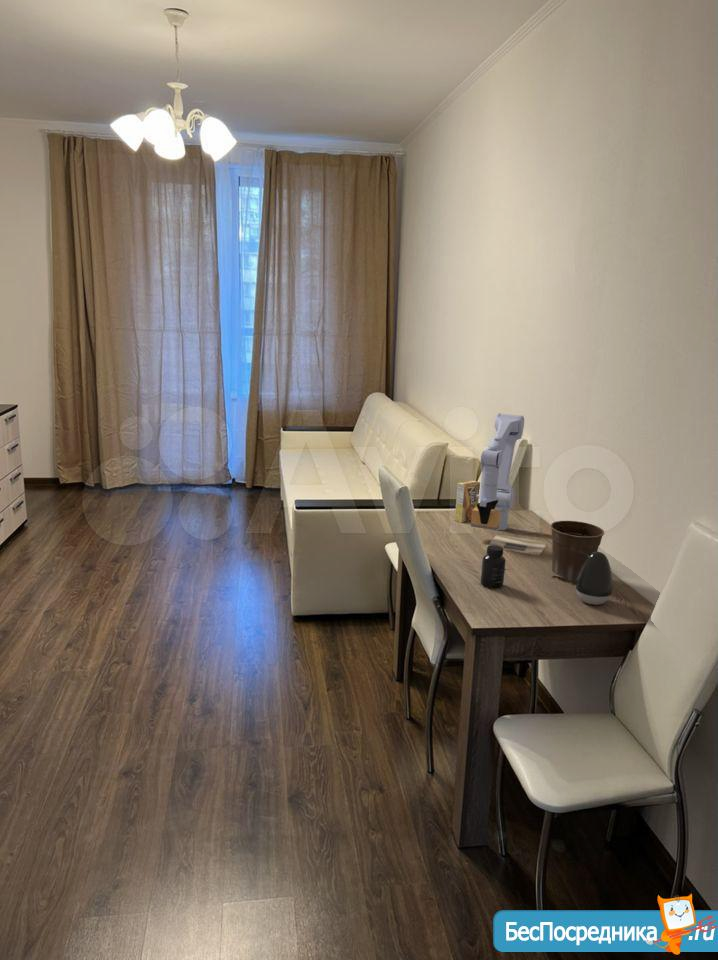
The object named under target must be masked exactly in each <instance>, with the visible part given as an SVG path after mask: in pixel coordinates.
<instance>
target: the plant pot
mask: <svg viewBox="0 0 718 960" xmlns="http://www.w3.org/2000/svg"><path fill="white" fill-rule="evenodd" d="M550 528H551V539H552V543H551V545H552V551H551V553H552V554H551V555H552V556H551V560H552V561H551V571H552V572H553V574H555V575H553V577H554V578H557V579H558V580H559V581H562V582H566V583H570V582H571V583H570V584H572V583H573V584H576V581H577V577H578V574H579V571H580V569H581V567H582V565H583V563H584V561H585V560H586V559H585V558H584V557H582V556H581V555H580V554H579V552H580V551H582V552H584V553H586V554H588V555H590V554H591V553H592V552H596V551H598V550H599V546H600V545H601V542H602V538H603V536H604V535H605V530H604V529H603V528H602V527H599V526H597V525H595V524H592V523H588V522H583V521H577V520H557V521H553V522H552V523H551V524H550ZM598 552H599V551H598Z"/></svg>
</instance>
